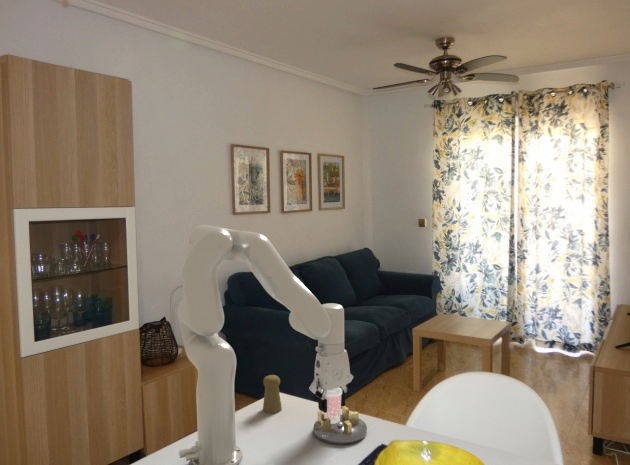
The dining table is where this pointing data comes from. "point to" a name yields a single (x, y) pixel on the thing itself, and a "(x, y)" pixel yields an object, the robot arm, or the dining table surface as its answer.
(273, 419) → the dining table surface
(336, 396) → the beverage cup
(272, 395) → the cork
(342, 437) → the gold studded metal disc
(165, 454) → the dining table surface
